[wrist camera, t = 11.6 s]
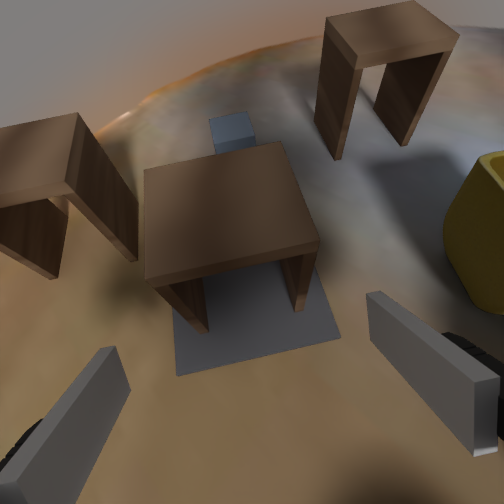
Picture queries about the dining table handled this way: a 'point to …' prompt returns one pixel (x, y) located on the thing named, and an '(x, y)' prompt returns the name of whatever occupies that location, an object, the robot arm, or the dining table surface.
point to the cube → (232, 132)
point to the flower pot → (479, 233)
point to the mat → (251, 319)
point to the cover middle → (225, 225)
